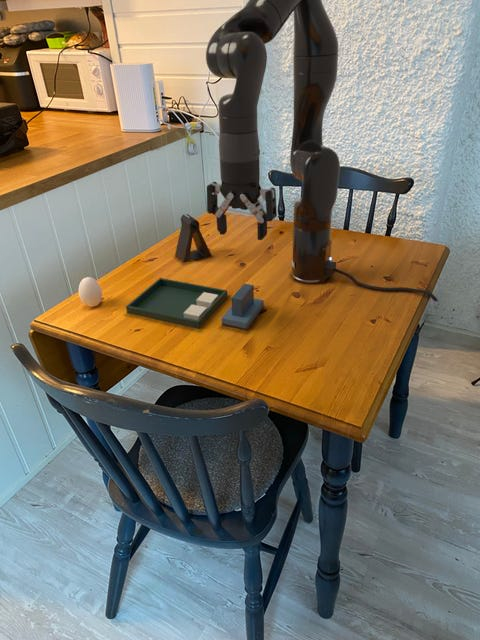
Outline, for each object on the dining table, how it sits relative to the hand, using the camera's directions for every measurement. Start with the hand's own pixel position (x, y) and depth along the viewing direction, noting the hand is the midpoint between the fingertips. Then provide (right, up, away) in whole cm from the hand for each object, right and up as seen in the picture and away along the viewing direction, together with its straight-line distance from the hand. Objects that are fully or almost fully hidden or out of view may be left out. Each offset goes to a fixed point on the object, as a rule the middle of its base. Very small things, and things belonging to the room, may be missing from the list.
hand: (242, 236), depth 97 cm
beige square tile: (-8, -14, +16) cm, 22 cm away
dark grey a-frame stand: (-14, +1, +40) cm, 42 cm away
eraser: (0, -17, +11) cm, 20 cm away
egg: (-36, -14, +18) cm, 43 cm away
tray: (-15, -14, +16) cm, 26 cm away
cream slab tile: (-11, -17, +11) cm, 23 cm away
